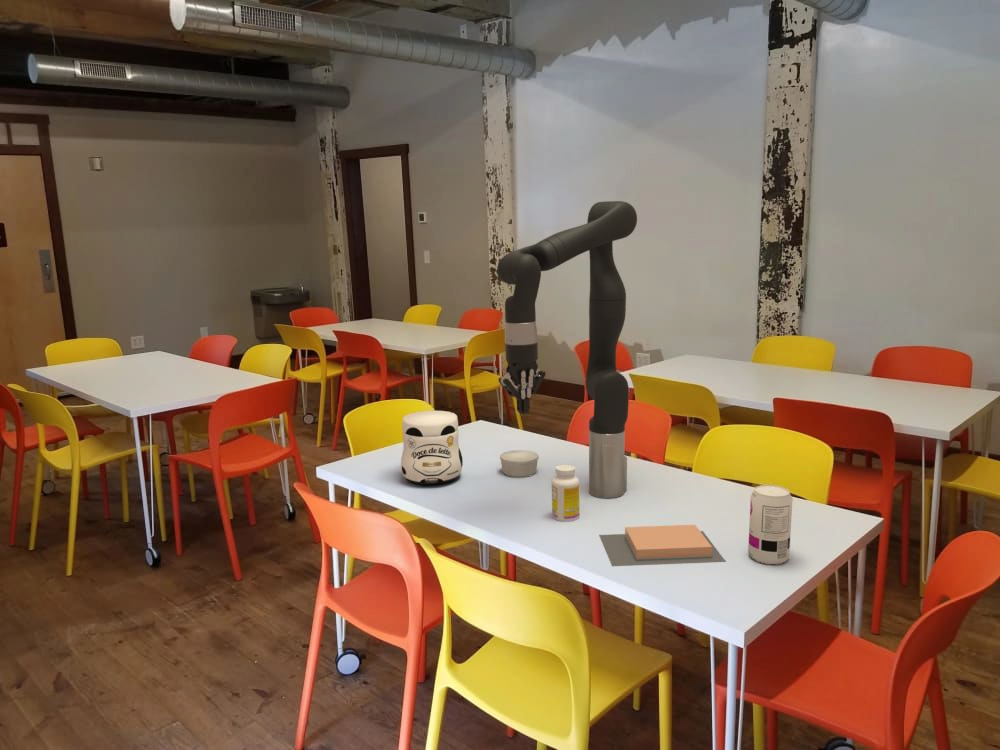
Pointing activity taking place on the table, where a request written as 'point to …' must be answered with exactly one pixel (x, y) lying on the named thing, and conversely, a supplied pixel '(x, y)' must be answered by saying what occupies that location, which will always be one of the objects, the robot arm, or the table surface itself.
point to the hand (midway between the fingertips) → (523, 413)
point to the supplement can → (770, 524)
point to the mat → (623, 556)
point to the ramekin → (519, 463)
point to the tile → (667, 542)
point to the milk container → (431, 447)
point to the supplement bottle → (565, 494)
